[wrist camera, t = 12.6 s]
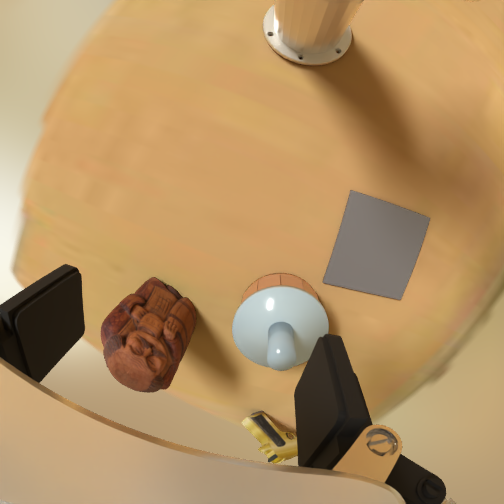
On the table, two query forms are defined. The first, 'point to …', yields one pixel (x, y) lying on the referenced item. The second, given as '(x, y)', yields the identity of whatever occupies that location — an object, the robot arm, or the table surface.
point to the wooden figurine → (148, 336)
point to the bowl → (278, 283)
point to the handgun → (271, 438)
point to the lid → (279, 326)
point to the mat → (376, 247)
